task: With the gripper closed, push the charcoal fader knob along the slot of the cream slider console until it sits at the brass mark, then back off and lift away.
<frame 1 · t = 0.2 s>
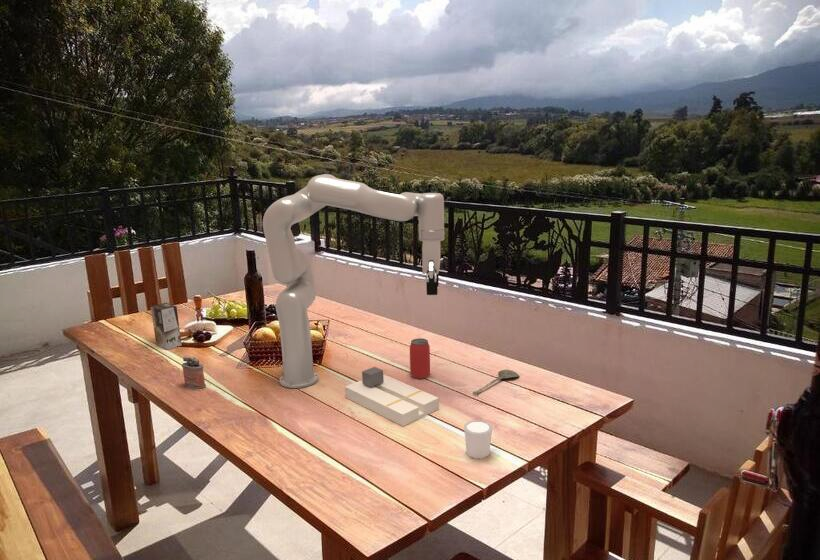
hand: (432, 290, 172), 31 cm above the table, tool pointing down, fingers open, 9 cm apart
fader knob: (373, 380, 172), point 5 cm above the table, slide at 0.0 cm
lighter: (195, 387, 183), on the table
coffee box: (169, 345, 221), on the table
slider console: (390, 402, 167), on the table
soupspoon: (495, 385, 179), on the table
white cup: (478, 453, 140), on the table
beer can: (420, 376, 186), on the table
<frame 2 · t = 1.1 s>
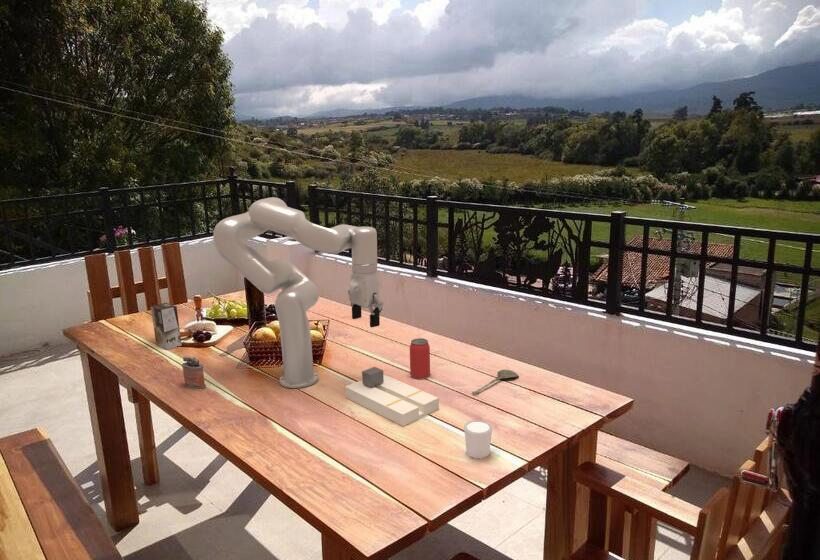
hand: (365, 322, 174), 21 cm above the table, tool pointing down, fingers open, 9 cm apart
nothing on the table moved.
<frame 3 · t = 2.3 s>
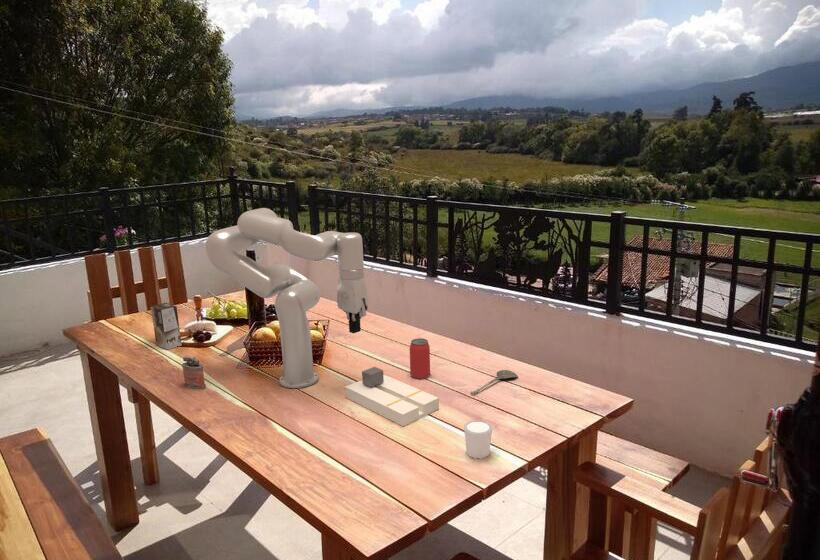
hand: (355, 331, 174), 19 cm above the table, tool pointing down, fingers closed
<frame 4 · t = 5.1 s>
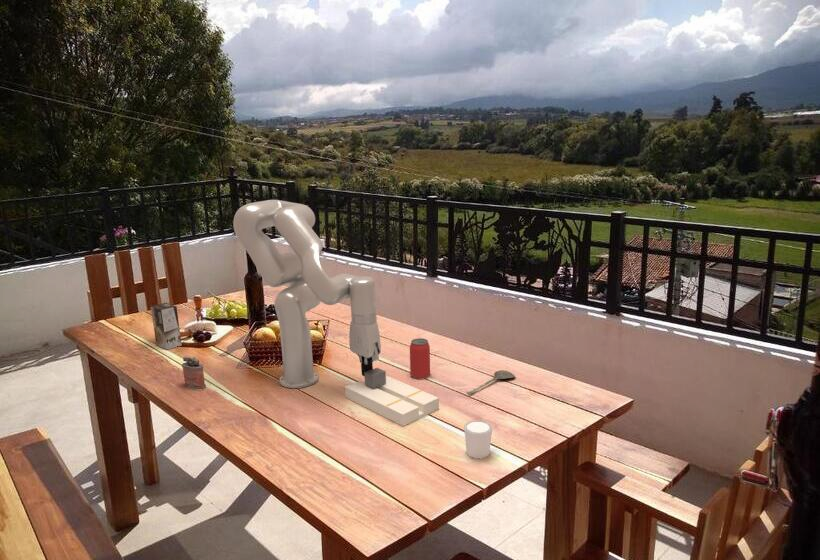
hand: (367, 374, 173), 6 cm above the table, tool pointing down, fingers closed
fader knob: (375, 381, 171), point 5 cm above the table, slide at 1.2 cm, touching gripper
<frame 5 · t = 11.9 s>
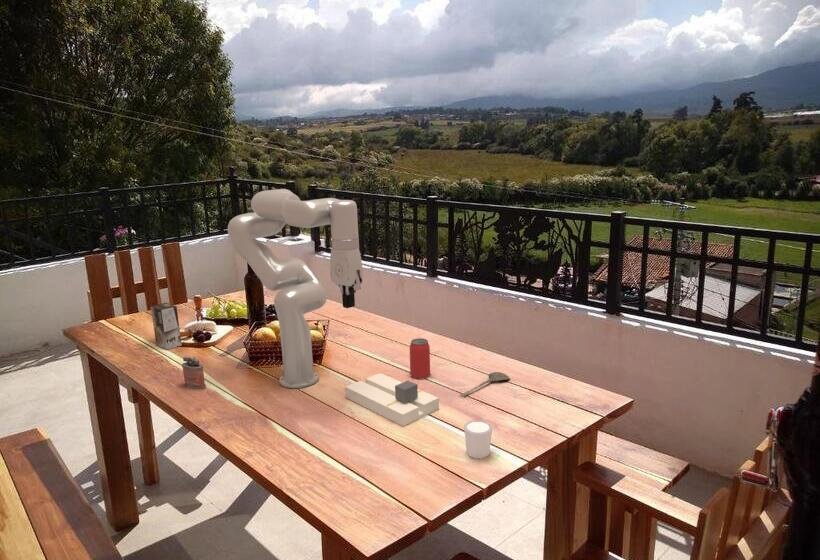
hand: (348, 306, 163), 29 cm above the table, tool pointing down, fingers closed
fader knob: (406, 395, 161), point 5 cm above the table, slide at 15.0 cm
soupspoon: (484, 388, 177), on the table
everything else where it was.
at the end: fader knob slide at 15.0 cm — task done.
